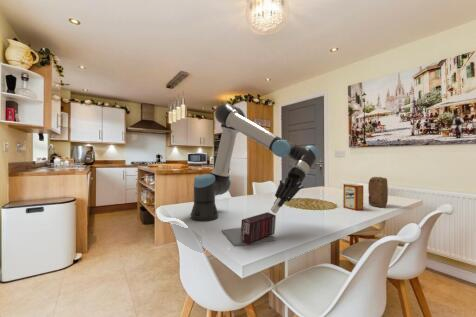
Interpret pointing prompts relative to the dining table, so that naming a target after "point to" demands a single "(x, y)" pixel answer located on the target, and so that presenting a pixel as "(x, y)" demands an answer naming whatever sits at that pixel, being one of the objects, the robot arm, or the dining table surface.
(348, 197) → the baking soda box
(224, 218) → the dining table surface
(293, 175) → the robot arm
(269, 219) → the supplement box
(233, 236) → the mat
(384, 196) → the block
